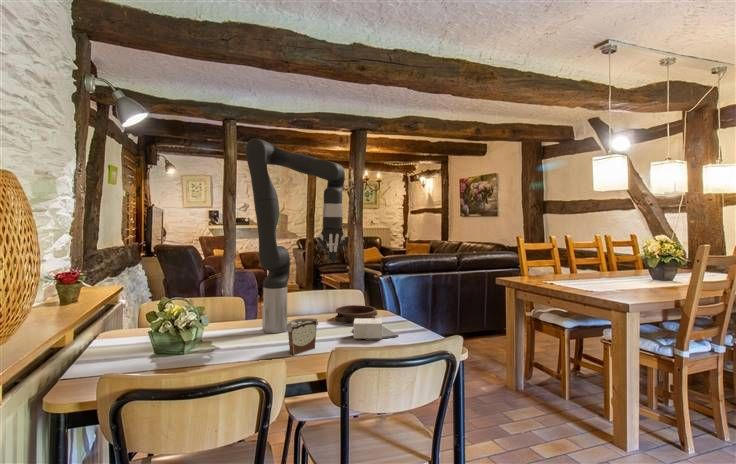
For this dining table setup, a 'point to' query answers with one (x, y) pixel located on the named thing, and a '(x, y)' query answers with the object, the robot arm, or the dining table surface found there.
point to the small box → (368, 328)
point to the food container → (302, 335)
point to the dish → (354, 313)
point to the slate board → (383, 334)
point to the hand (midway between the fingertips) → (331, 261)
